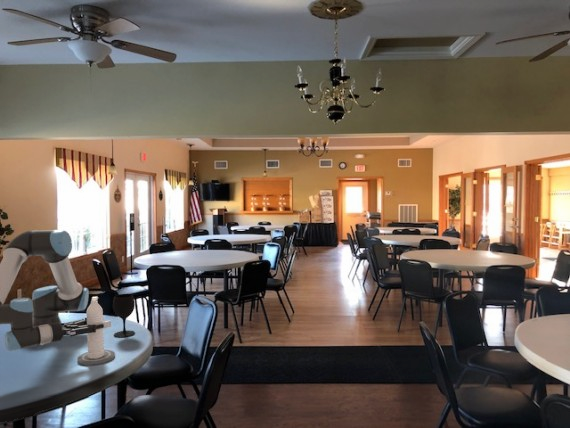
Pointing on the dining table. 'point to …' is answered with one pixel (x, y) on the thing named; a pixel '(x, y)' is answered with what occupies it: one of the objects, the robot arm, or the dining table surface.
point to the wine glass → (123, 312)
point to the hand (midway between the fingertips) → (106, 321)
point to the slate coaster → (87, 361)
